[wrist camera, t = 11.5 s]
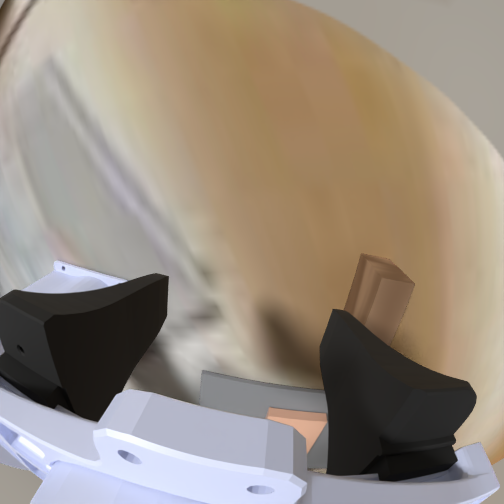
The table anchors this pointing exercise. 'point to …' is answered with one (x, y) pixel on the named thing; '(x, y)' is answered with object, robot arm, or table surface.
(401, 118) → the table surface
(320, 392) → the mat
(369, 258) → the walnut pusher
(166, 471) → the robot arm
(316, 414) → the tile
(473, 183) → the table surface
